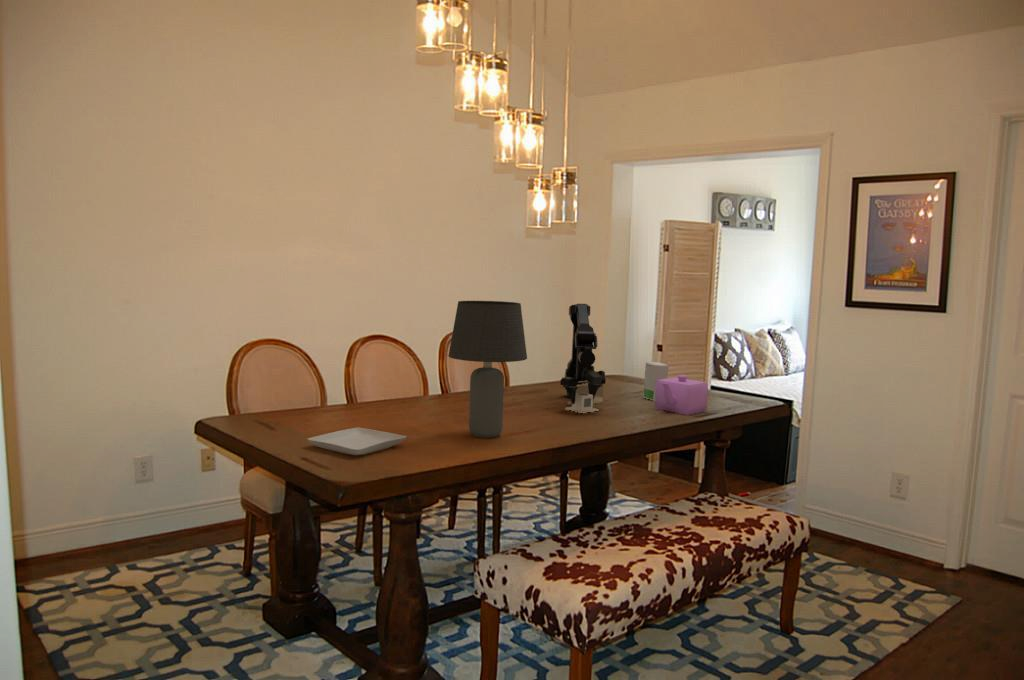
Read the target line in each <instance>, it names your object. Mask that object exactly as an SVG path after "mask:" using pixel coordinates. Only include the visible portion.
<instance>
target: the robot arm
mask: <svg viewBox="0 0 1024 680" xmlns="http://www.w3.org/2000/svg"><path fill="white" fill-rule="evenodd" d="M568 316H569V319H570V321H571V324H572V342H571V356H570V357H571V359H570V360H569V361H568V362H567V366H566V368H565V371H564V372H565V373H564V376H563V377H561V379H560V386H562V387H563V388H565V390H566V394H563V397H565V398H569V399H570V402H572V404H575V397H576V390H577V389H578V387H576V386H577V385H583V384H588V390H589V394H591V395H593V399H594V397H595V394H596V392H597V390H598V388H600V387H601V386H603V387H604V385H605V384H606V380H607V379H606V372H605V371H604V370H599V371H597V370H596V371H595V367H594V364H595V362H596V355H595V354H594V353H593V350H597V347H598V336H597V334H596V333H595V331H594V328H593V327H592V326H591V325H590V319H589V317H590V316H591V306H590V305H589V304H587V303H575V304H571V305H570V306H569V307H568Z"/></svg>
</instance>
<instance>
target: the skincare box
mask: <svg viewBox="0 0 1024 680" xmlns="http://www.w3.org/2000/svg"><path fill="white" fill-rule="evenodd" d="M644 367H645V371H644V380H643V381H644V382H643V392H642V393H643V394H642V398H643V399H645V398H646V400H648V399H650V400H649V401H651V400H653V401H652V402H655V399H656V381H657V380H661V379H668V378H669V377H668V375H669V364H665V363H664V362H663V363H662V362H658V361H650V362H649V361H647V362H645V366H644Z"/></svg>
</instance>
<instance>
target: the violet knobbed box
mask: <svg viewBox="0 0 1024 680" xmlns="http://www.w3.org/2000/svg"><path fill="white" fill-rule="evenodd" d="M708 388H709V382H706V381H700V380H693V379H688V376H687V375H684V374H678V375H677V377H668V378H667V379H661V380H657V381H656V399H655V401H654V409H655V408H657V409H656V410H658V409H661V410H660V411H663V410H666V411H665V412H668V411H670V412H669V413H673V412H675V413H674V414H678V413H680V414H679V415H683V414H685V415H684V416H691V415H690V414H692V415H695V414H694V413H697V414H700V413H699V412H702V413H704V412H703V411H706V412H707V403H708V391H709V390H708Z"/></svg>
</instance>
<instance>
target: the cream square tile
mask: <svg viewBox="0 0 1024 680" xmlns="http://www.w3.org/2000/svg"><path fill="white" fill-rule="evenodd" d="M565 410H566V411H569V410H571V411H570V412H573V411H575V412H574V413H577V412H578V414H580V413H583V414H588V413H587V412H591V413H595V412H594V411H599V410H600V409H597V408H596V407H595V408H594V407H592V409H589V410H578V409H574V408H572V406H568V407H567V406H566V407H565ZM599 412H600V411H599Z"/></svg>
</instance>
